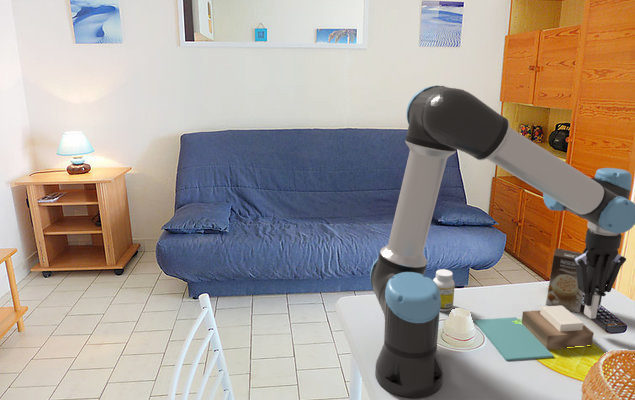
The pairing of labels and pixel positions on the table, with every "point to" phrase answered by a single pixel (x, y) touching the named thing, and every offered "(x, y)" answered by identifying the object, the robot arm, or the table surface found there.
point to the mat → (512, 339)
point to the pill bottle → (445, 288)
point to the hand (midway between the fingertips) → (589, 315)
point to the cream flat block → (561, 318)
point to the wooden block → (555, 332)
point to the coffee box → (564, 281)
